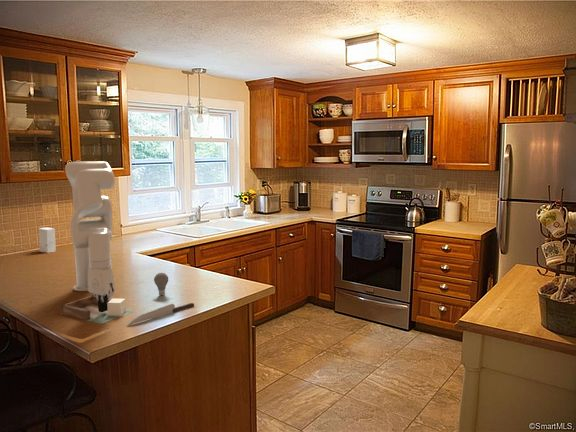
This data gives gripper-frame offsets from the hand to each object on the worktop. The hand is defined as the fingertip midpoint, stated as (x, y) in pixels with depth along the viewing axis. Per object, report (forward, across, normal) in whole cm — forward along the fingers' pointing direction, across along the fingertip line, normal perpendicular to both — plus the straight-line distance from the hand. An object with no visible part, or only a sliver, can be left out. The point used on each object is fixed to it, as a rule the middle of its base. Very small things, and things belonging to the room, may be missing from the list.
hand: (103, 310), depth 180 cm
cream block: (+1, +4, +3) cm, 5 cm away
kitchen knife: (+3, +19, +11) cm, 22 cm away
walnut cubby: (+2, -3, 0) cm, 4 cm away
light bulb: (+2, 0, +30) cm, 30 cm away
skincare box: (+2, -128, +62) cm, 142 cm away
